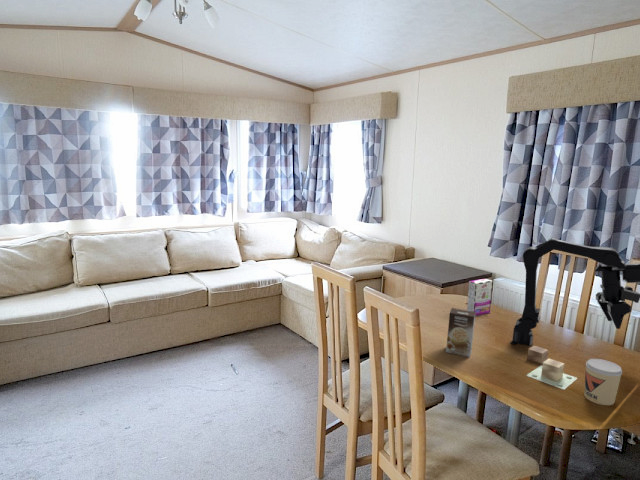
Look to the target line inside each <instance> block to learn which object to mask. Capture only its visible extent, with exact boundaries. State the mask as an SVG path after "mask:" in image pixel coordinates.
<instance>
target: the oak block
mask: <svg viewBox="0 0 640 480" xmlns="http://www.w3.org/2000/svg"><path fill="white" fill-rule="evenodd" d="M541 366H542V374H541V376H542V377H545V378H547V379H550V380H553V381H555V382H557V381H559V380H560V379H561V378H562V377H563V373H564V371H565V370H564V369H565V363H564V362H561V361H558V360H555V359H552V358H547V360H546V361H544V362H543V363H542V364H541Z"/></svg>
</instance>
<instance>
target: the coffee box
mask: <svg viewBox="0 0 640 480" xmlns="http://www.w3.org/2000/svg"><path fill="white" fill-rule="evenodd" d="M475 321H476V316H475V312H472V311H467V309H466V310H465V309H460V308H454V307H451V309H450V311H449V318H448V328H447V337H446V338H447V339H446V349H445V353H450V354H454V355H457V356H458V355H459V356H463V357H468V358H470V357H471V355H472V354H471V353H472V349H473V341H474V330H475V329H474V328H475Z"/></svg>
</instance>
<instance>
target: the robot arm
mask: <svg viewBox="0 0 640 480" xmlns="http://www.w3.org/2000/svg"><path fill="white" fill-rule="evenodd" d="M524 250H525V251H524V252H523V254H522V258H523V265H524V269H525V291H524V292H525V293H524V294H525V295H524V307H523V310H522V311H523V312H522V315H521V317H519V318H518V319H517V320H516V322H515V324H514V327H513V331H512V339H511V341H510V344H512V345H516V346H517V345H518V344H519V345H524V346H527V347H530V346H532V345H533V341H534V334H533V329H535V328H536V327H537V326H538V324H539V323H540V320H541V316H540V315H541V314H540V313H541V308H537V304H536V301H537V276H538V275H537V273H538V271H537V270H538V267H539V263H540V259H541V257H544V256H545V255H547V254H549V253H550V252H551V251H560V252H562V253H563V252H564V253H567V254H571V255H576V256H581V257H583V258H584V257H585V258H589V259H591V260H593V261H595V262H597V263H599V264H598V265H597V266H596V267H595V268H594V271H595V272H598V273H599V272H600V275H601V278H600V279H601V284H600V288H601V291H602V292H601V291H599V292H597V293H596V294H595V300H596V301H597V304H598V305H599V307H600V309H601V310H602V312H603V314H604V316H605V318H606V319H607V322H613V325H614V327H615V328H616V330H620V329H621V326H622V324H623V320H624V317H625V316H626V315H627V314H629V313H631V312H632V306H631V305H630V304H628V303H627V302H626V300H627V301H629V302H630V301H631V302H634V303H636V304H639V303H640V293H639V292H637V291H635V290H634V289H633V287H631V286H628V285H626V286H625V287H624V286H622V284H621V282H622V281H625V282H626V283H627V284H636V283H637V284H640V262H639V263H626V262H625V261H624V260H622V259H621V258H620V255H619V251H617V249H616V248H614V247H605V246H588V245H585V244H584V245H583V244H580V243H574V242H570V241H566V240H562V239H559V238H558V239H557V238H556V237H552V238H551V237H550V238H549V239H548V240H546V241H544V242H541V243H539V244H538V245H536V246H528V247H527V248H526V249H524ZM621 276H622V277H621ZM621 278H622V281H621Z"/></svg>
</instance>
